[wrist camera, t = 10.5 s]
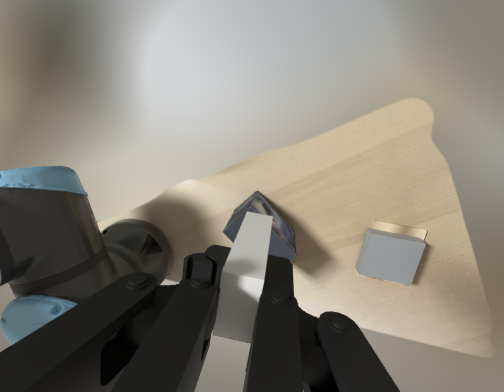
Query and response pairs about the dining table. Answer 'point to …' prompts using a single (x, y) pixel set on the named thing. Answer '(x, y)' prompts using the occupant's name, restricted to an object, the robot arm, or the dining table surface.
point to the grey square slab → (390, 256)
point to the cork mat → (399, 230)
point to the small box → (280, 230)
